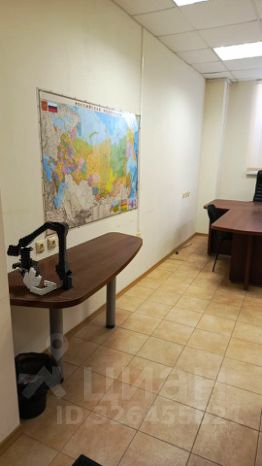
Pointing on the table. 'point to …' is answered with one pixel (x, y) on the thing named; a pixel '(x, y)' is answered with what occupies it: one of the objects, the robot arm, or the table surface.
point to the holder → (42, 291)
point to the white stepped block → (32, 277)
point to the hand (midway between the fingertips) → (26, 281)
